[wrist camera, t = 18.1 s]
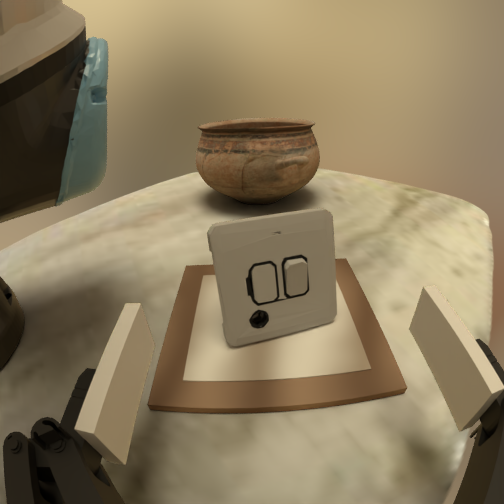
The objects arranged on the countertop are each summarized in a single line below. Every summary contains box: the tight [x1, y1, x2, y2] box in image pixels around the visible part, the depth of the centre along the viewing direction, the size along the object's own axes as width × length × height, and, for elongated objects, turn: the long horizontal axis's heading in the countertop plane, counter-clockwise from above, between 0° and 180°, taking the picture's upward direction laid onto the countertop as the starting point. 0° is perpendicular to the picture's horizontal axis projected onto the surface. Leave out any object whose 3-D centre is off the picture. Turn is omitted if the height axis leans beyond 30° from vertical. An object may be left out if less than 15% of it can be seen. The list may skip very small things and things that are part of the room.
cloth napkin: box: [148, 258, 407, 413], centre depth 23 cm, size 16×16×1 cm
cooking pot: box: [196, 118, 320, 205], centre depth 45 cm, size 25×19×12 cm
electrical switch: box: [207, 208, 337, 346], centre depth 21 cm, size 8×5×8 cm, turn 106°
